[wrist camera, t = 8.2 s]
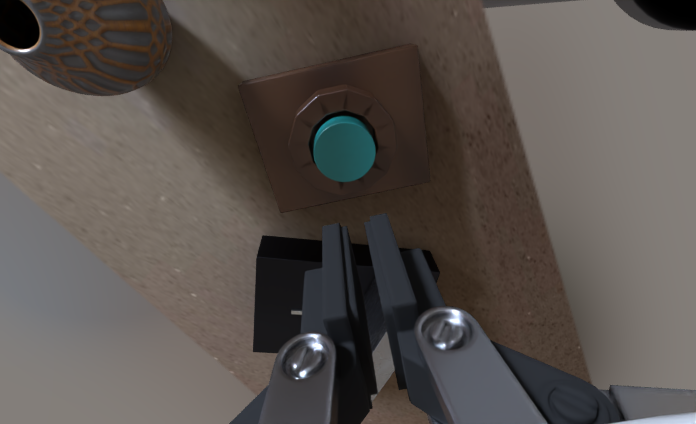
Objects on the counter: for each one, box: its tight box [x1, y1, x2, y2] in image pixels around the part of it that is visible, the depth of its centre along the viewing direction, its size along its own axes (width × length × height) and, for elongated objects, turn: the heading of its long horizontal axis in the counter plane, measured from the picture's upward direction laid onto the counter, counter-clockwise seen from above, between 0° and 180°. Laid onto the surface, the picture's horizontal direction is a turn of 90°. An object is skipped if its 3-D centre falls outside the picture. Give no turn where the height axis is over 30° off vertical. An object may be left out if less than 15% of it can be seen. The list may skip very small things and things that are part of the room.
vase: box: [0, 0, 172, 96], centre depth 17 cm, size 7×7×9 cm
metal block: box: [364, 278, 395, 401], centre depth 26 cm, size 8×2×6 cm, turn 156°
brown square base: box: [238, 44, 430, 213], centre depth 23 cm, size 11×9×4 cm
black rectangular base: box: [253, 235, 440, 353], centre depth 30 cm, size 15×12×3 cm
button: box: [314, 115, 376, 182], centre depth 21 cm, size 4×4×2 cm
